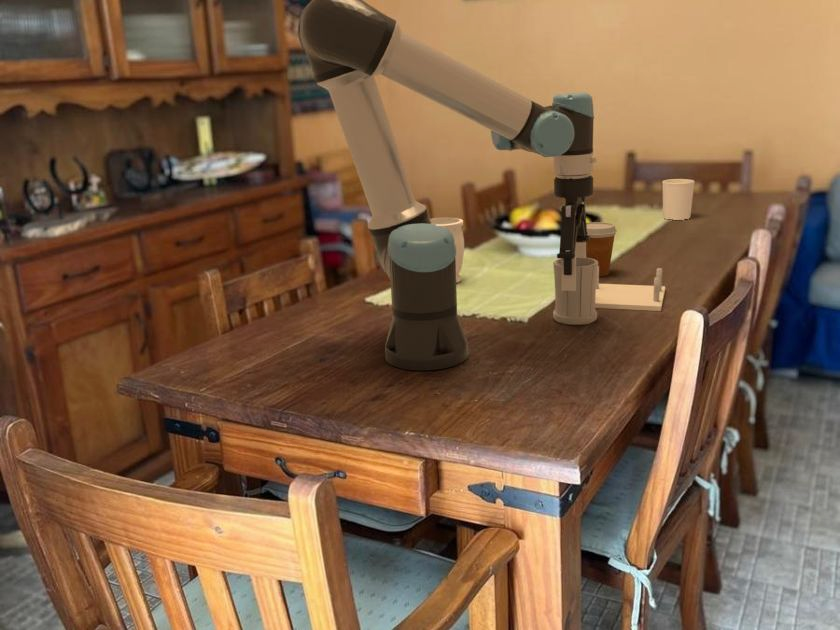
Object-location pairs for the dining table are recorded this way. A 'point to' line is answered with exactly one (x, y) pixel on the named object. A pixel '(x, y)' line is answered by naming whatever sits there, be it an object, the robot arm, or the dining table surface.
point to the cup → (576, 294)
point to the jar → (456, 230)
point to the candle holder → (677, 198)
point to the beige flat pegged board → (630, 295)
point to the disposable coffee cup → (600, 244)
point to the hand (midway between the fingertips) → (574, 281)
